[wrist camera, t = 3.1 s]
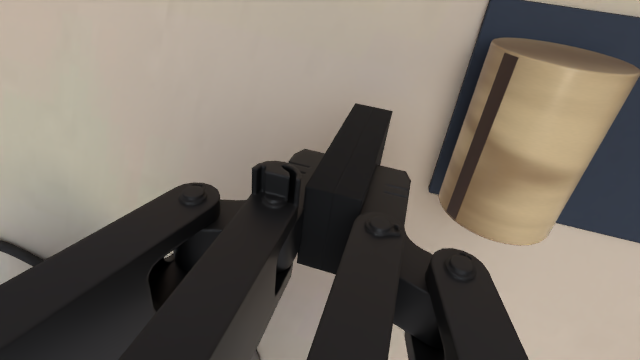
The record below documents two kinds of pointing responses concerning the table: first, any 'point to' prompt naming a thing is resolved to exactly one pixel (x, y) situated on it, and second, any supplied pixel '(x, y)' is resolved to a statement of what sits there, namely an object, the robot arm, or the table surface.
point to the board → (622, 137)
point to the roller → (531, 136)
